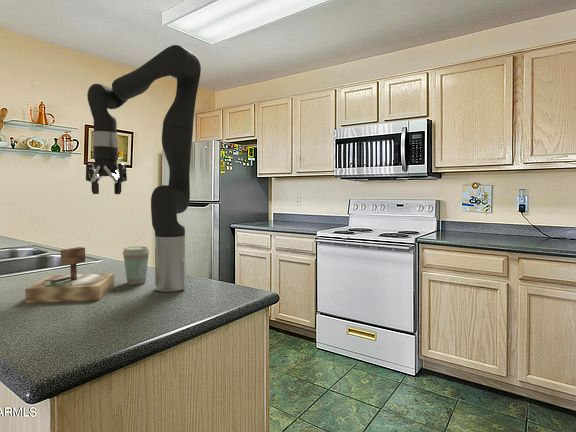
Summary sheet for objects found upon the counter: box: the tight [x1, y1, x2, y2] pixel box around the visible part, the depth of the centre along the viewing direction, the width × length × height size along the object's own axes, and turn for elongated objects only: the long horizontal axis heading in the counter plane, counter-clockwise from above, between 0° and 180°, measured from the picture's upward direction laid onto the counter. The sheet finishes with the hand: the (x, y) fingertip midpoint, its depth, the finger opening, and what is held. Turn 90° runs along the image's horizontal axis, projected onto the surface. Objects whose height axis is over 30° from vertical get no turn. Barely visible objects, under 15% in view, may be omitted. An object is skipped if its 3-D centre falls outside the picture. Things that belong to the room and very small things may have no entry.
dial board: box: [25, 273, 115, 304], centre depth 114 cm, size 19×17×4 cm
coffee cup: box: [122, 246, 150, 286], centre depth 127 cm, size 8×8×12 cm
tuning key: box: [50, 246, 86, 284], centre depth 111 cm, size 11×2×9 cm, turn 161°
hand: (106, 194), depth 128 cm, fingers open, 8 cm apart
